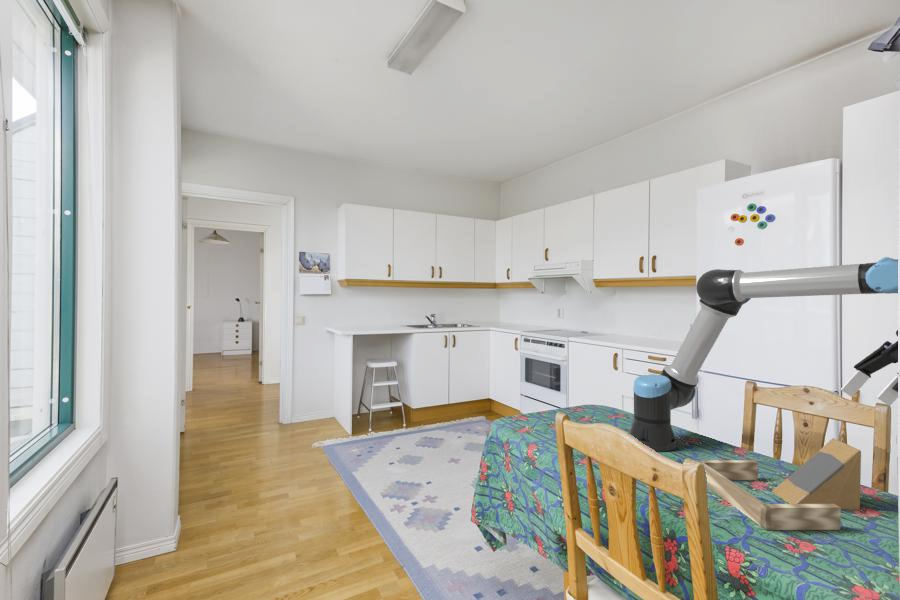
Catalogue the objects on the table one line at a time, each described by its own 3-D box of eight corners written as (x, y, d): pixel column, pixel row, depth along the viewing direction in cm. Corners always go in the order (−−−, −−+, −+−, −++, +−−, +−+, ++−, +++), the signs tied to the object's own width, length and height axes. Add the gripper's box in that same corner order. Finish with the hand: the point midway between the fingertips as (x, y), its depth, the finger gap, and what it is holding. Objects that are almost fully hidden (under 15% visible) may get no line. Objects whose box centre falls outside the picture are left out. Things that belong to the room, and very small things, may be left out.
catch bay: (753, 477, 118) (753, 460, 118) (840, 529, 92) (840, 507, 92) (695, 477, 118) (695, 460, 118) (765, 530, 92) (766, 507, 92)
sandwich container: (769, 491, 111) (769, 435, 110) (832, 493, 109) (832, 437, 109) (792, 507, 102) (792, 447, 102) (860, 511, 100) (861, 449, 100)
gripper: (993, 339, 86) (919, 417, 89) (903, 338, 110) (847, 399, 113) (954, 317, 88) (883, 394, 91) (874, 320, 112) (819, 381, 115)
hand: (863, 397), depth 102 cm, fingers open, 13 cm apart
